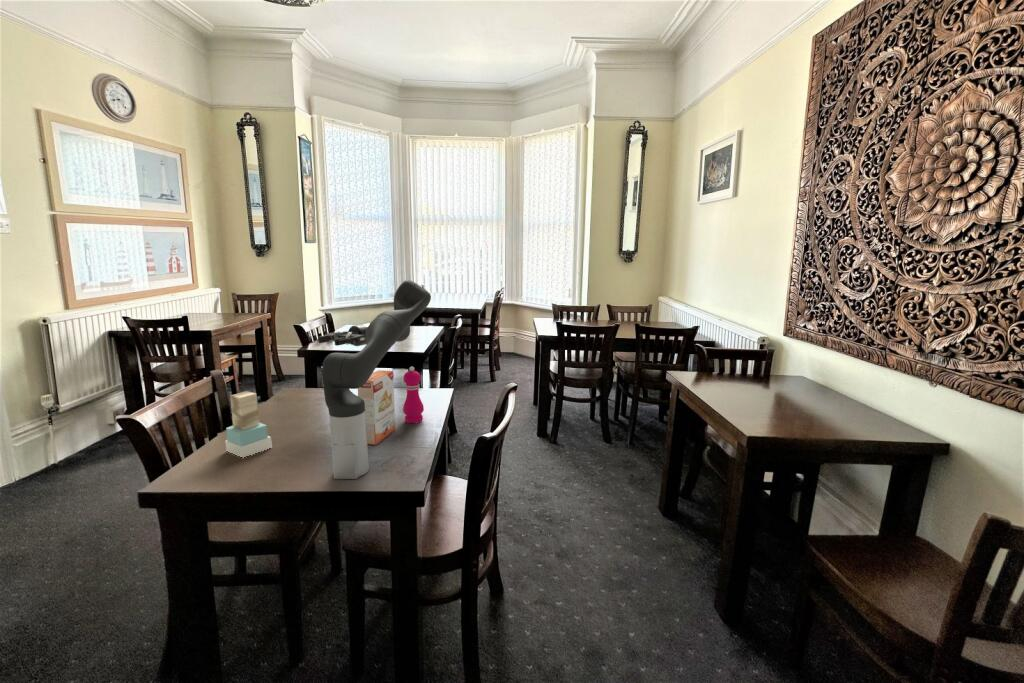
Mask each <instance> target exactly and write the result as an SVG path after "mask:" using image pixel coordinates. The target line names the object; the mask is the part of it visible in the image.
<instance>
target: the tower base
mask: <svg viewBox="0 0 1024 683" xmlns="http://www.w3.org/2000/svg"><path fill="white" fill-rule="evenodd" d="M224 442H225V450H226V451H228V452H230V453H233V454H235V455H237V456H236V457H238V456H240V457H243V458H242V459H245V458H244V457H246V456H249V455H251V456H254V455H256V454H255V453H257V454H259V453H258V452H260V453H262V452H264V450H265V451H268V450H270V449H269V448H271V449H273V442H272V436H269V435H268V438H265V439H262V440H259V441H256V442H253V443H250V444H247V445H244V446H239V445H237V444H234V443H232V442H230V441H227V439H226V440H224ZM267 449H268V450H267ZM261 451H262V452H261ZM228 452H227V453H228ZM230 453H229V454H230ZM233 454H232V455H233ZM253 454H254V455H253ZM235 455H234V456H235ZM240 457H239V458H240ZM249 457H250V456H249ZM246 458H247V457H246Z"/></svg>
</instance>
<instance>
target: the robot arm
mask: <svg viewBox="0 0 1024 683" xmlns="http://www.w3.org/2000/svg"><path fill="white" fill-rule="evenodd" d="M431 300H432V295H431V294H430V292H429V291H428V290H426V289H425V288H424V287H423V286H421V285H419V284H418V283H417V282H415V281H413V280H411V279H406V280H403V281H402V283H401V284H399V286H398V288H397V289H396V290H395V293H394V295H393V310H392V309H391V310H387V311H383V312H381V313H380V314H378V315H377V316H376V317H374V318H373V320H372V321H371V322H370V323H362V324H355V325H352V326H350V328H349V329H348V331H347V330H345V331H336V332H335V331H334V332H329V333H325V334H324V335H320V336H318V337H317V342H318V343H319V344H323V343H330V342H332V343H333V342H334V346H342V345H351V346H354V347H360V346H364V347H363V348H362V349H361V350H360V351H358V352H356V353H349V352H346V353H345V352H331V353H329V354H328V355H327V356H325V357H324V360H323V363H322V367H321V381H322V386H323V388H322V389H323V394H324V395H323V396H324V400H325V401H324V403H325V404H326V407H327V409H328V418H329V432H330V433H329V434H330V444H331V445H330V446H331V456H332V457H331V458H332V469H333V471H332V472H333V479H335V480H346V479H347V480H357V479H358V478H359V477H362V476H363V475H366V474H367V473H368V472H369V469H370V466H369V452H368V451H369V449H368V444H367V432H366V415H365V402H364V400H363V399H362V398H360V397H358V395H357V394H355V393H353V391H351V390H353V389H354V390H355V389H358V388H360V387H362V386H363V385H364V384H365V383H366V382H367V380H368V379H369V378H370V376H371V375H372V373H374V372H375V370H376V368H377V367H378V366H379V363H380V362H381V361H382V359H383V358H384V357H385V355H386V354H387V353H388V351H389V350H390V349H391V348H392V347H393V346H394V345H395V344H396V343H397V342H398V343H400V342H404V341H405V340H407V339H408V337H409V336H410V333H411V324H412V323H413V322H414V320H415V319H417V318H418V317H419V316H420V315H421V314H422V313H423V312H424V311H425V309H427V308H428V305H429V304H430V303H431Z"/></svg>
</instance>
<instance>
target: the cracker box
mask: <svg viewBox="0 0 1024 683" xmlns="http://www.w3.org/2000/svg"><path fill="white" fill-rule="evenodd" d="M394 379H395V378H394V371H393V370H383V369H382V370H381V369H380V370H379V369H378V370H376V371H373V373H372V375H371V376H370V378H369V379H368V380H367V382H366V383H365V384H364V385H363V386H362V387H360V388H357V396H358V397H360V398H362V399H363V400H364V402H365V415H366V432H367V445H370V446H371V445H373V446H376V445H378V444H379V443H380V442H382V441H383V440H384V439H386V437H388V436H389V435H390V434H392V433H393V432H394V431H395V430H396V413H395V412H396V411H395V409H396V408H395V384H394V382H395V381H394Z"/></svg>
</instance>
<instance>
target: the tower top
mask: <svg viewBox="0 0 1024 683" xmlns="http://www.w3.org/2000/svg"><path fill="white" fill-rule="evenodd" d="M225 429H226V440H227V441H230V442H232V443H234V444H237V445H239V446H244V445H247V444H250V443H253V442H256V441H259V440H262V439H265V438H268V436H269V434H268V433H269V432H268V425H267V424H264V423H262V422H259V426H256V427H252V428H249V429H246V430H241V429H237V428H234V427H233V425H231V426H228V427H226V428H225Z"/></svg>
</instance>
